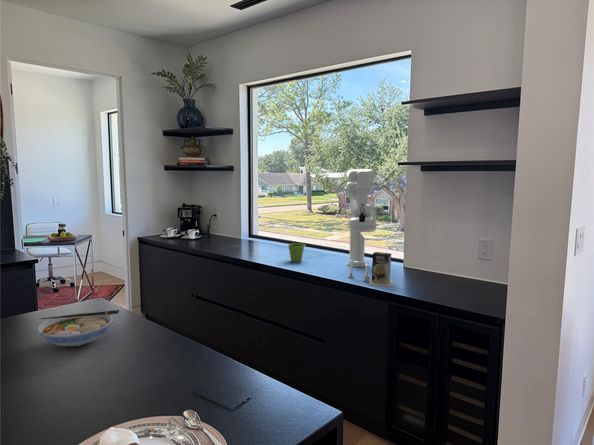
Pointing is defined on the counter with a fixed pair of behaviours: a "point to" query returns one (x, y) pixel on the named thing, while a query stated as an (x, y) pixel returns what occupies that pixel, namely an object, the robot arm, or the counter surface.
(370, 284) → the tile
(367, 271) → the white arch piece
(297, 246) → the plant pot
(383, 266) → the coffee box
